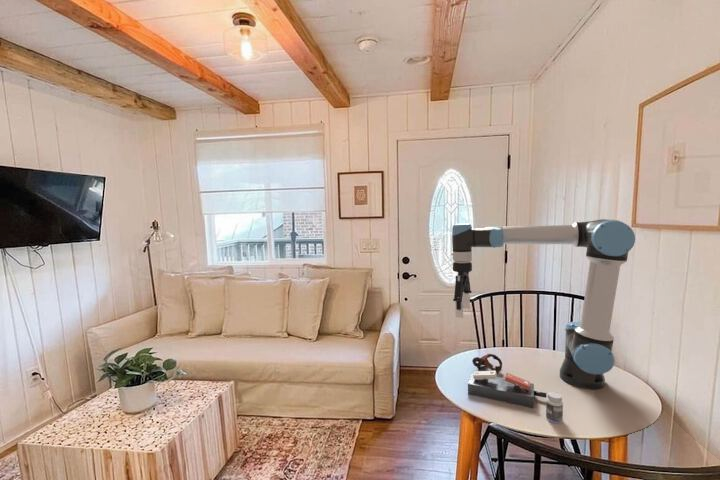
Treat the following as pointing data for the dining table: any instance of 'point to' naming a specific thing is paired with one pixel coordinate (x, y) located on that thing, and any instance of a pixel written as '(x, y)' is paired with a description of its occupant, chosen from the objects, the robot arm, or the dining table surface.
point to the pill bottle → (554, 407)
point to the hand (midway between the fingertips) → (463, 312)
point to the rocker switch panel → (503, 391)
